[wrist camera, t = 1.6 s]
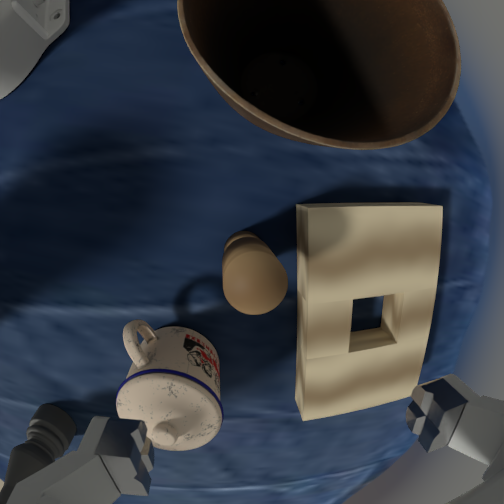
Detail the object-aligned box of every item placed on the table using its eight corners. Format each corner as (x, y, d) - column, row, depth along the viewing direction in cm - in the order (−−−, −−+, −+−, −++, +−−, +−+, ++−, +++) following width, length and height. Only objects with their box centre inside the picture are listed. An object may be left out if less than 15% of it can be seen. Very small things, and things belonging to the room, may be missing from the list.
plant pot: (372, 146, 28) (491, 129, 12) (224, 185, 27) (230, 189, 12) (325, 16, 24) (395, -74, 9) (181, 42, 24) (152, -67, 8)
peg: (220, 230, 28) (220, 255, 19) (264, 227, 29) (287, 250, 19) (223, 272, 29) (225, 317, 19) (266, 269, 30) (288, 311, 20)
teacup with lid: (236, 377, 32) (244, 457, 21) (164, 403, 32) (150, 479, 21) (182, 283, 29) (162, 342, 18) (106, 317, 29) (60, 381, 18)
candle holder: (78, 416, 31) (14, 569, 7) (75, 442, 32) (24, 578, 8) (38, 396, 30) (-43, 532, 6) (38, 423, 31) (-27, 548, 7)
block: (296, 204, 28) (307, 207, 25) (420, 202, 30) (442, 206, 26) (295, 398, 33) (303, 420, 29) (399, 377, 35) (414, 394, 31)
